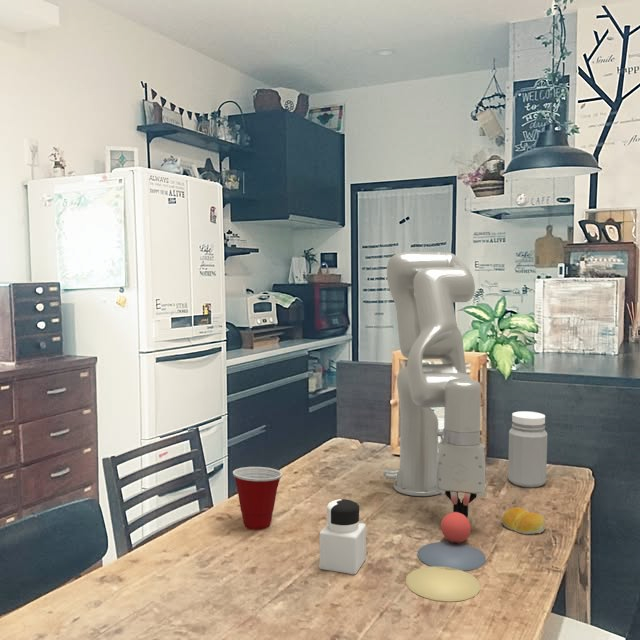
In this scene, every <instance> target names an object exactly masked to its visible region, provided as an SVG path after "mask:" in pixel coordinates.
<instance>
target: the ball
mask: <svg viewBox="0 0 640 640" xmlns="http://www.w3.org/2000/svg"><path fill="white" fill-rule="evenodd" d="M471 527H472V526H471V523H470V520H469V518H468V519H467V517H466V516H464V515H463V514H461V513H458V512H453V511H452V512H449V513H447V514H445V515H444V516H443V518H442V520H441V523H440V530H441V533H442V536H443V537H444V538H445V539H446V540H447V541H448V542H454V543H461V542H462V543H463V542H464V541H466V540H467V539H468V537H469V536H470V534H471V529H472V528H471Z"/></svg>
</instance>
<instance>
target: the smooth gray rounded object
mask: <svg viewBox="0 0 640 640" xmlns="http://www.w3.org/2000/svg"><path fill="white" fill-rule="evenodd" d="M417 558H418V559H419V560H420V561H421V562H422V563H423V564H425V565H426V566H428V567H434V566H439V567H447V568H448V567H449V568H454V569H458V570H461V571H464V572H468V571H473V570H474V571H475V570H477V569H479V568H481V567H483V566H484V565H485V563H486V560H487V558H486V554H485V553H484V552H483V551H481V550H480V549H478V548H476V547H474V546H472V545H469V544H466V543H463V542H462V543H461V542H459V543H454V542H451V541H436V542H431V543H428V544H425V545H422V546H420V548H419V549H418V550H417ZM447 568H446V569H447ZM442 569H444V568H442ZM448 570H450V569H448ZM451 570H452V569H451Z"/></svg>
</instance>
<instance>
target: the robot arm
mask: <svg viewBox="0 0 640 640" xmlns="http://www.w3.org/2000/svg"><path fill="white" fill-rule="evenodd" d="M386 279H387V286H388V288H389V292H390V294H391V297H392V299H393V303H394V305H395V306H394V307H395V312H396V321H397V322H396V323H397V331H398V342H399V348H400V350H399V351H400V353H401V355H402V356H403V357H404V358H405V359H407V362H406V366H404V367H403V368H402V369H401V368H400V370H399V371H398V374H397V377H396V386H397V394H398V399H399V411H400V412H399V414H400V415H399V417H400V419H399V422H400V423H399V425H400V426H399V427H400V428H399V429H400V431H399V468H396V469H390V468H384V469H383V470H382V472H383V473H382V475H383V477H385V479H389V480H394V481H393V489H394V490H395V491H396V492H398V493H401V494H403V495H408V496H413V497H414V496H415V497H430V496H436V495H439V494H442V495H444V496H446V497H447V498H448V499H449V500H450V501H451V503H452V506H453V509H452V510H453V511H452V512H458V513H461V514H463V515H464V516H466V517H467V519H468V520H469V504H470V503H471V502H472V501H474V500H475V499H481V498H485V497H486V498H487V495H488V492H487V487H486V483H487V470H486V467H487V466H486V455H485V449H484V444H483V443H482V442H481V416H482V415H481V409H482V407H481V405H482V404H481V403H482V401H481V399H482V396H481V395H482V386H481V384H480V382H479V381H477V380H475V379H472V378H471V377H470V376H469V375H468V374H467V368H466V359H465V349H464V341H463V336H462V332H461V331H460V329H459V327H458V323H457V322H458V321H457V317H456V312H455V308H454V303H467V302H470V301H471V300H472V299H473V297H474V296H475V291H476V290H475V289H476V285H475V284H476V283H475V279H474V276H473V274H472V272H471V270H470V269H469V267H468V266H467V265H466V264H465V263H464V262H463V261H462V260H461V259H460V258H459V257H458V256H457V255H456V254H454V253H452V252H447V251H404V252H403V251H402V252H399V253H396V254H393V255H392V256H391V257H390V258H389V260H388V262H387V268H386ZM423 360H424V361H425V360H441V362H442V363H437V364H436V363H435V364H434V363H426V364H424V363H423ZM432 408H443V410H444V414H443V415H444V416H443V417H444V420H443V421H444V423H443V424H444V425H443V426H444V427H443V429H439V419H438V416H437V415H436V413H435V412H434V411H433V410H432ZM439 437H440V438H442V439H443V440H442V441H441V442H440V443H439ZM459 493H463V498H462V500H461V499H460V496H459Z"/></svg>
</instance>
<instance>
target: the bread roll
mask: <svg viewBox="0 0 640 640" xmlns="http://www.w3.org/2000/svg"><path fill="white" fill-rule="evenodd" d="M500 521H501V523H502V525H503V526H504V527H505V528H506V527H507V528H506V529H508V528H509V529H508V530H510V529H511V531H513V530H514V531H515V532H516V533H518V532H519V534H522V535H536V534H535V533H539V534H542V533H543V532H544V531H545V529H546V528H545V527H546V520H545V518H544V517H543V516H542V515H540V514H539V513H536V512H529V511H528V510H526V509H525V508H522V507H519V506H516V507H511V508H509V509H508V510H506V511H505V512H504V513H503V514H502V515H501V518H500ZM514 531H513V532H514ZM541 532H542V533H541Z"/></svg>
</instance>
